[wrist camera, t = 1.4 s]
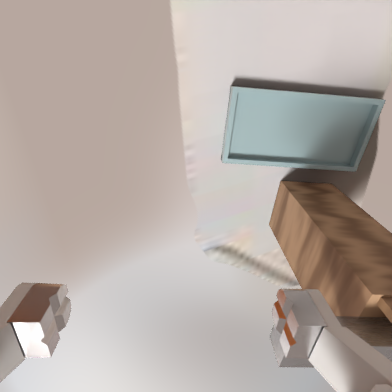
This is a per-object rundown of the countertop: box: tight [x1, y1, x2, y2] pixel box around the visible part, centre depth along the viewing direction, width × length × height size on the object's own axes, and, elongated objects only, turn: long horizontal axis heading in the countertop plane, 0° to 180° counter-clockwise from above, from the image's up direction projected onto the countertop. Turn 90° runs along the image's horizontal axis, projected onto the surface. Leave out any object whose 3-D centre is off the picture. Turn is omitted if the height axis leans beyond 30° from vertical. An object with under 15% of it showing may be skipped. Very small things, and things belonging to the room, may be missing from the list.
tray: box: [221, 86, 385, 172], centre depth 41 cm, size 24×12×2 cm, turn 85°
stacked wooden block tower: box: [269, 181, 392, 323], centre depth 37 cm, size 10×10×28 cm
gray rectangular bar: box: [270, 316, 392, 367], centre depth 24 cm, size 20×4×4 cm, turn 85°
